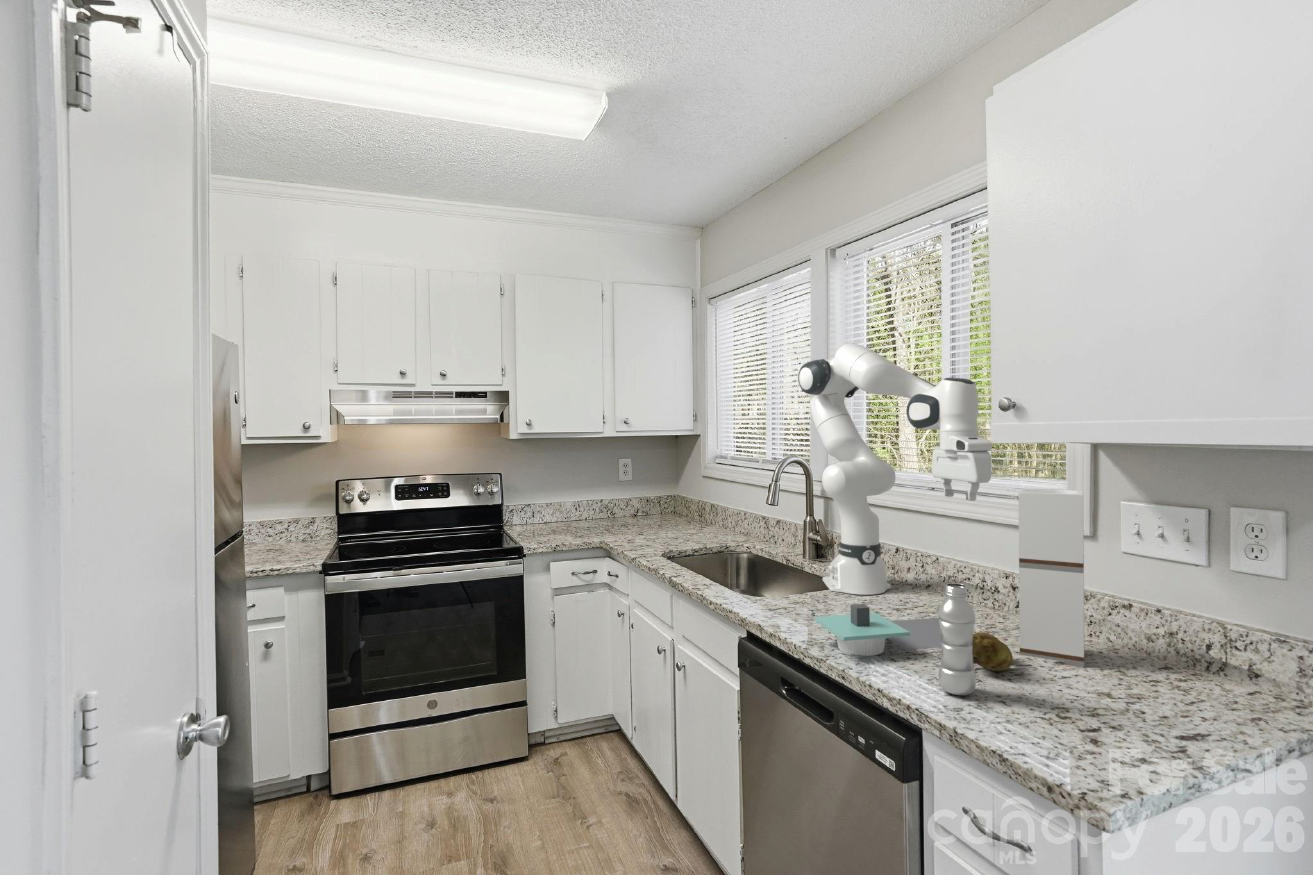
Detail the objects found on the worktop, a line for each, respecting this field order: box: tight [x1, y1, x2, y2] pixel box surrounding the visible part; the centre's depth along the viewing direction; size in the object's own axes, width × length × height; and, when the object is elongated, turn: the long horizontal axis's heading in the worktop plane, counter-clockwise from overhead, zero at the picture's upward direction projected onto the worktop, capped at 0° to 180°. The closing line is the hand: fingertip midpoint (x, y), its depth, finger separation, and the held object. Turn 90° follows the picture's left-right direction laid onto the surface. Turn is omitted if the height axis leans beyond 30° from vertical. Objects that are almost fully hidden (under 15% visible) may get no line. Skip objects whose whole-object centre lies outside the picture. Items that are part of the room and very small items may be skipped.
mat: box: [886, 617, 942, 651], centre depth 155 cm, size 20×20×1 cm
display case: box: [1017, 487, 1086, 668], centre depth 141 cm, size 11×11×35 cm
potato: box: [972, 631, 1014, 672], centre depth 133 cm, size 8×13×8 cm, turn 116°
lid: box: [813, 603, 910, 641], centre depth 146 cm, size 15×15×5 cm
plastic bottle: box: [937, 582, 977, 696], centre depth 122 cm, size 6×7×20 cm
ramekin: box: [835, 635, 887, 657], centre depth 146 cm, size 11×11×5 cm
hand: (959, 498), depth 163 cm, fingers open, 8 cm apart
